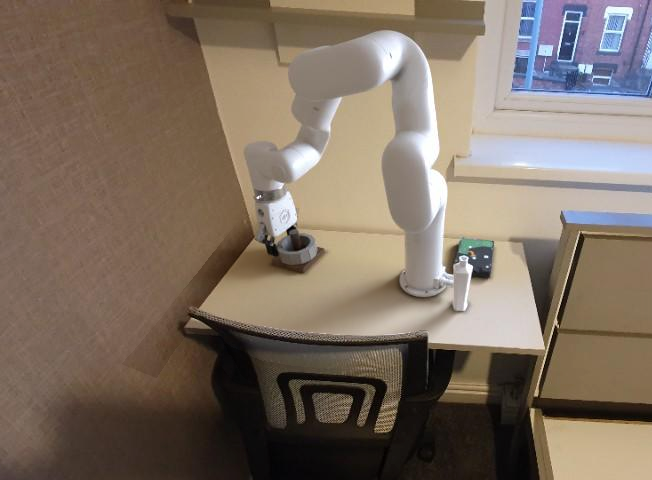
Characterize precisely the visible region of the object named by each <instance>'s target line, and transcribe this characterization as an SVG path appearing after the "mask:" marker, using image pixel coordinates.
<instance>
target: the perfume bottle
mask: <svg viewBox="0 0 652 480" xmlns="http://www.w3.org/2000/svg"><path fill="white" fill-rule="evenodd" d="M459 259H460V260H459V263H457V264H453V265H452V269H453V270H452V271H453V273H452V275H453V278H454V280H453V281H454V288H453V301H452V303H451V305H452V307H453V310H454V311H457V312H465V311H466V309H467V307H468V302H467V300H468V296H469V289H470V284H471V278H472V276H471V274H472V269H473V266H471V265H469V264H468V257H466V256H464V255H463V256H460V257H459Z"/></svg>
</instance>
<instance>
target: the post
mask: <svg viewBox="0 0 652 480" xmlns="http://www.w3.org/2000/svg"><path fill="white" fill-rule="evenodd" d="M299 233H300V232H299V230H298V229H297V228H296V229H294V230H291V231H289V235H290V239H291V244H292V248H290V249H289V250H287V251H289V252H294V251H300V250H302V249H305V248H306V247H307V246H301V241H300V236H299ZM324 254H326V249H325V248H324V247H320V246H317V255H316V256H315V257H314V258H313V259H312V260H310V261H308V262H306V263H303V264H298V265H289V264H285V263H282V261H281V260H280V259H279V257H278V256H277V257H276V256H274V257H273V258H272V259H271V262H272V265H274V266H278V267H280V268H284V269H288V270H290V271H291V270H292V271H295V272H298V273H302V274H304V273H306V271H308V270H309V269H310V268H311V267H312V266H313V265H314V264H315V263H316V262H317V261H319V259H320V258H321V257H322V256H324Z"/></svg>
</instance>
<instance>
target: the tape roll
mask: <svg viewBox="0 0 652 480" xmlns="http://www.w3.org/2000/svg"><path fill="white" fill-rule="evenodd" d="M299 236H300V241H301V246H307V247H306V248H305V249H302V250H300V251H294V252H289V251H287V250H289V249H290V248H292V244H291V239H290V235H288V236H287V235H286V236H284V237H281V239H280V240H278V241H277V243H276V246H277V251H278V257H279V259H280V260H281V261H282V263H285V264H289V265H298V264H303V263H306V262H308V261H310V260H312V259H313V258H314V257H315V256H316V255H317V247H318V245H317V241H316V238H315V237H314V236H313V235H312V234H309V233H305V232H299Z"/></svg>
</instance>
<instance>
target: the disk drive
mask: <svg viewBox="0 0 652 480" xmlns="http://www.w3.org/2000/svg"><path fill="white" fill-rule="evenodd" d="M494 249H495V240H489V239H482V238H469V237H464V236H463V237H461V238H460V239H459V241H458V247H457V251H456V256H455V259H454V264H457V263H459V260H460V259H459V257H460V256H463V255H464V256H466V257H468V264H469V265H471V266H473V269H472V274H471V277H476V278H486V279H490V278H491V275H492V269H493V268H492V265H493V257H494ZM454 264H453V265H454Z"/></svg>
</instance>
